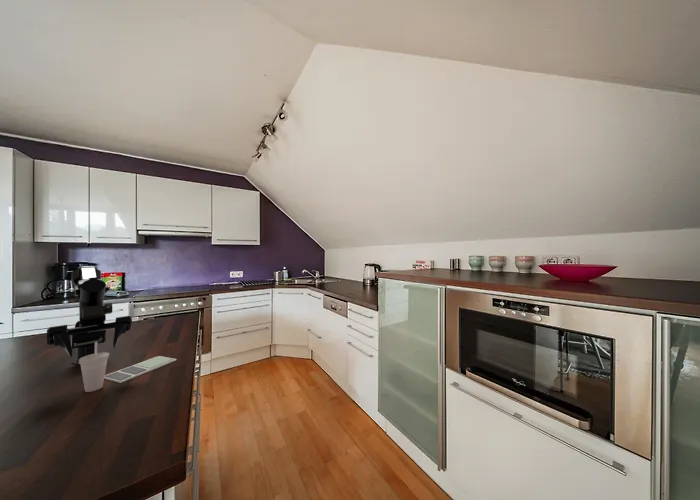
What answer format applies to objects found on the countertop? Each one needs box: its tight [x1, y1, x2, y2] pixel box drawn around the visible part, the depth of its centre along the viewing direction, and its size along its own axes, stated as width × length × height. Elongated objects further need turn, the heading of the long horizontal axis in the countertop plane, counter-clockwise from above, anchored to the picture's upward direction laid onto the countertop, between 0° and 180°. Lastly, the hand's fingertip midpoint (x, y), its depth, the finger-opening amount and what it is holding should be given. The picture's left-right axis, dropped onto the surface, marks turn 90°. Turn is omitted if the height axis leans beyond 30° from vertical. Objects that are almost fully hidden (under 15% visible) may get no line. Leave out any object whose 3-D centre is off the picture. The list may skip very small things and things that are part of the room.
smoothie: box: [79, 342, 110, 393], centre depth 73 cm, size 6×6×14 cm
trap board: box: [104, 355, 177, 384], centre depth 86 cm, size 10×18×1 cm, turn 161°
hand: (93, 351), depth 75 cm, fingers open, 9 cm apart
